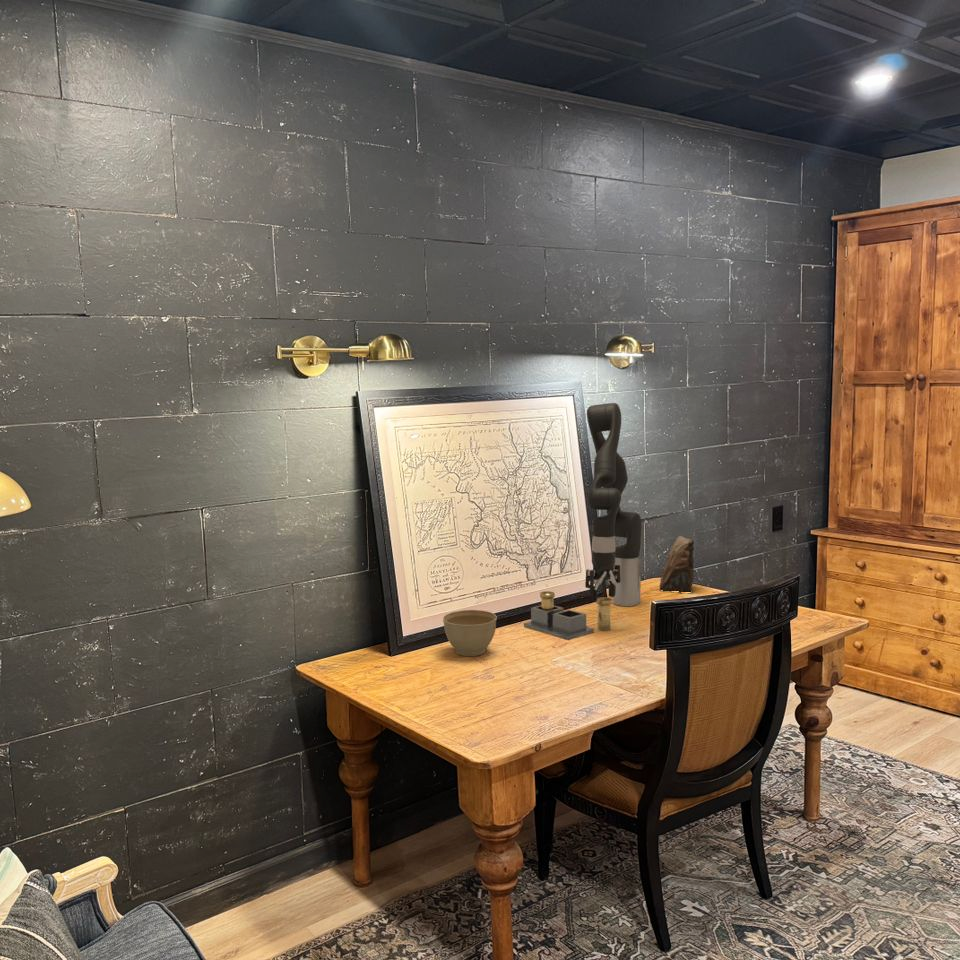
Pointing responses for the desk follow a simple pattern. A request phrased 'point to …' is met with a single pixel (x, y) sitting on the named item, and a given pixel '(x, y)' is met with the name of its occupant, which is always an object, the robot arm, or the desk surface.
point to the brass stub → (604, 613)
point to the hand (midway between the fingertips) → (602, 598)
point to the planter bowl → (470, 631)
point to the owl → (679, 567)
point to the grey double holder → (557, 619)
